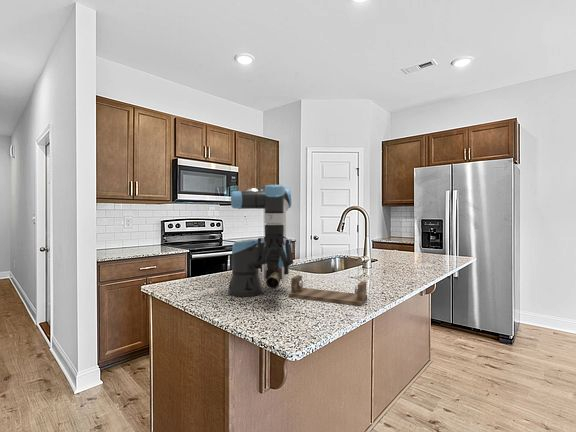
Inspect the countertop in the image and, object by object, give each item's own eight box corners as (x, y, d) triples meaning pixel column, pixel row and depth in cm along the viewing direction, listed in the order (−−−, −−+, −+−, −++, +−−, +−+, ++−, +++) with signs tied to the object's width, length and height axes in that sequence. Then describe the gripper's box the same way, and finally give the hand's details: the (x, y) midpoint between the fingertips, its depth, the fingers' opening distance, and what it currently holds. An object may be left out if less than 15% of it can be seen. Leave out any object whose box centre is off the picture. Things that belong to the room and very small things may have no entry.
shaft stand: (288, 297, 136) (288, 279, 136) (299, 290, 147) (299, 274, 147) (361, 306, 124) (361, 286, 124) (367, 298, 135) (367, 280, 134)
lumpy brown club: (278, 289, 118) (278, 273, 118) (260, 288, 119) (260, 273, 119) (285, 278, 136) (285, 264, 136) (269, 277, 137) (269, 264, 136)
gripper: (246, 223, 128) (246, 280, 129) (294, 225, 120) (294, 286, 121) (256, 222, 135) (256, 276, 136) (302, 224, 126) (302, 282, 127)
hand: (274, 281), depth 128 cm, fingers closed on lumpy brown club, 8 cm apart
